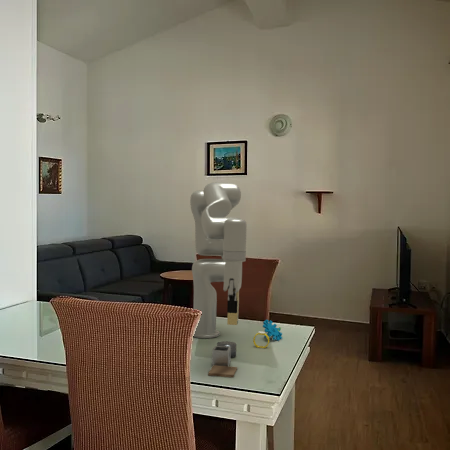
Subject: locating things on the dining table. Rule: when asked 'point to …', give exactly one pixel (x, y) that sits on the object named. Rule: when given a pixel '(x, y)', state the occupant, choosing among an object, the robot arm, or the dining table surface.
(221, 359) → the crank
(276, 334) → the gear
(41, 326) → the dining table surface
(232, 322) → the tan wooden bar
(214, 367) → the board
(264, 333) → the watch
